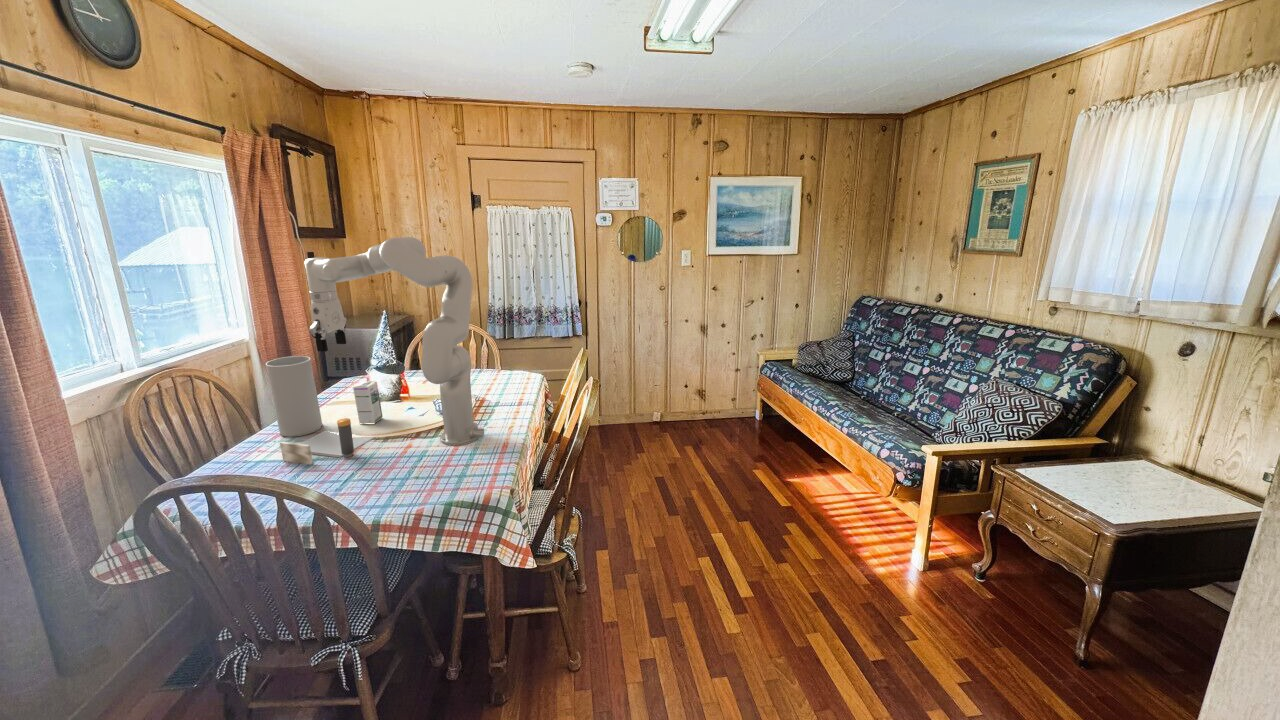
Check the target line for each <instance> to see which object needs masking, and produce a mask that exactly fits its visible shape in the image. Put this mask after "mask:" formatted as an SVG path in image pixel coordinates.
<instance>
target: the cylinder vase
mask: <svg viewBox="0 0 1280 720" xmlns="http://www.w3.org/2000/svg"><path fill="white" fill-rule="evenodd" d="M265 368H266V372H267V377H268V382H269V383H268V384H269V387H270V391H271V397H272V402H273V406H274V407H273V408H274V411H275V412H274V413H275V416H276V417H275V418H276V420H277V426H278V430H279V431H278V432H279V433H280V435H281V436H284V437H289V438H293V437H295V438H296V437H302V436H306V435H310V434H313V433H315V432H317V431H319V430H320V429H321V428H322V427H323V420H322V414H321V410H320V403H319V399H318V398H319V397H318V393H317V387H316V381H315V377H314V371H313V365H312V360H311V357H310V356H307V355H293V356H291V355H290V356H284V357H283V356H282V357H278V358H275V359H272V360H269V361H266V362H265ZM321 426H322V427H321Z"/></svg>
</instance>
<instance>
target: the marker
mask: <svg viewBox="0 0 1280 720" xmlns="http://www.w3.org/2000/svg"><path fill="white" fill-rule="evenodd" d="M336 424H337V430H338V431H337V432H339V438H340V445H341V453H342V454H343V456H342V457H343V458H344V459H345V458H346V459H347V458H349V459H350V458H352V457H353V456H354V453H355V449H354V446H353V438H352V434H353V433H352V432H353V431H352V425H351V424H352V421H351V419H350V418H341V419H338V420H337V421H336Z"/></svg>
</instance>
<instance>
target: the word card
mask: <svg viewBox="0 0 1280 720" xmlns="http://www.w3.org/2000/svg"><path fill="white" fill-rule="evenodd" d="M279 445H280V450H281V455H282V461H283V462H288V461H289V463H297V464H303V465H304V464H305V465H312V464H314V463H313V462H314V460H313V457H312V456H313V455H312V454H311V449H310V445H305V444H300V443H295V442H289V441H287V442H286V441H281V442H279Z"/></svg>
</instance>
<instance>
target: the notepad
mask: <svg viewBox="0 0 1280 720" xmlns="http://www.w3.org/2000/svg"><path fill="white" fill-rule="evenodd" d="M328 431H329V430H324V431H323V432H320V433H318V434H316V435H314V436H312V437H310V438H308V439H306V440H304V441H302V442H299V444H305V445H310V449H311V454H312V456H316V457H317V456H319V457H325V458H327V457H328V458H335V459H340V458H342V457H344V456H343V454H342V453H341V445H340V438H339V435H337V434H334V433H330V432H328ZM373 439H375V438H374V437H365V438H353V446H354V450H355V449H358V448H359V447H361V446H363V445H365V444H366V443H368V442H370V441H372V440H373Z"/></svg>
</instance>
